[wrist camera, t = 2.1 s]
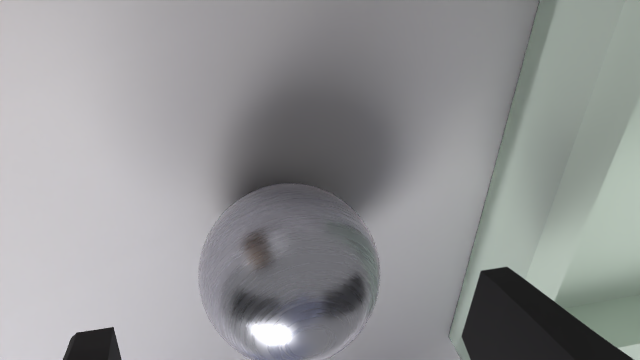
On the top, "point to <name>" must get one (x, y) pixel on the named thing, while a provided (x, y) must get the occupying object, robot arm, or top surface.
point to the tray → (570, 172)
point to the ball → (289, 274)
